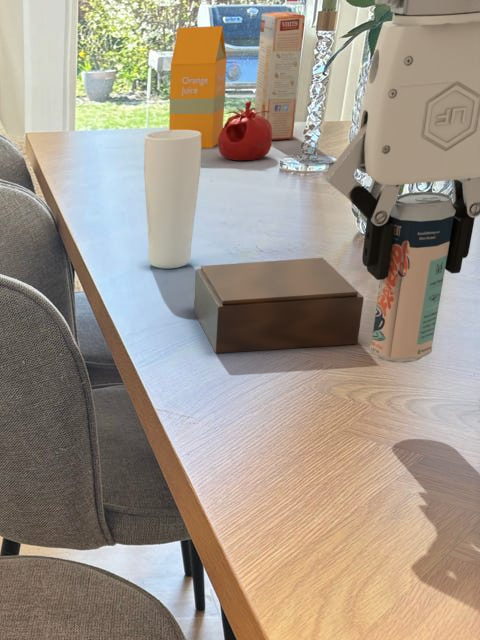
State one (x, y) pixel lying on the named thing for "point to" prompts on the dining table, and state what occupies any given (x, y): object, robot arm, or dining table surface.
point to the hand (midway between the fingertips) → (412, 269)
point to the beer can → (413, 277)
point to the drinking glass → (171, 194)
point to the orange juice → (198, 82)
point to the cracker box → (279, 70)
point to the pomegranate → (245, 135)
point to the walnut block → (276, 305)
